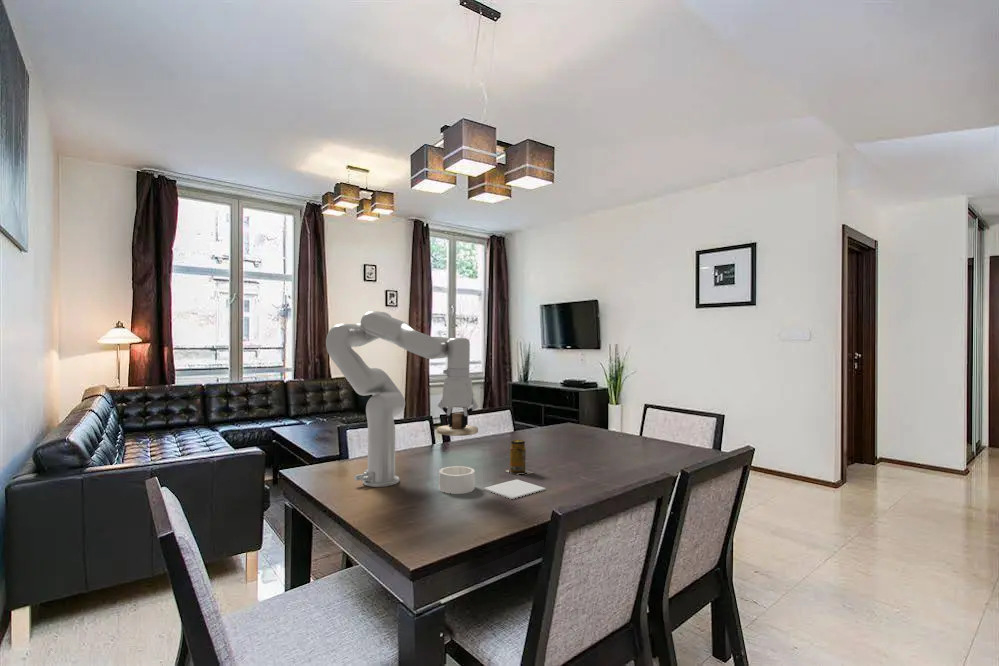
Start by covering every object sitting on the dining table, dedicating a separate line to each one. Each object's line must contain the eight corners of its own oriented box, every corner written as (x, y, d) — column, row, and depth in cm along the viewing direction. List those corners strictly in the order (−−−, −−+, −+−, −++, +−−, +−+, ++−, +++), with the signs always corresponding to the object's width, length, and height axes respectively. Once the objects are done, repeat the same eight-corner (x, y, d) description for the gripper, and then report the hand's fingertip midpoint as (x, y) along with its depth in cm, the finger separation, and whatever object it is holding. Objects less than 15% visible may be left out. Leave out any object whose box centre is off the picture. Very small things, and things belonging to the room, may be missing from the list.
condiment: (518, 468, 199) (518, 438, 199) (533, 473, 193) (533, 441, 193) (504, 471, 195) (504, 440, 195) (518, 476, 188) (519, 444, 188)
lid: (453, 437, 162) (453, 418, 162) (428, 431, 172) (429, 413, 172) (486, 432, 172) (486, 414, 172) (461, 426, 182) (461, 409, 182)
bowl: (453, 496, 163) (453, 477, 163) (432, 487, 172) (432, 470, 172) (481, 488, 171) (481, 471, 172) (459, 481, 180) (459, 464, 180)
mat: (511, 499, 160) (511, 497, 160) (483, 489, 171) (483, 487, 171) (545, 489, 171) (545, 488, 171) (516, 480, 182) (516, 479, 182)
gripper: (431, 373, 169) (431, 428, 169) (480, 375, 167) (479, 430, 167) (437, 372, 177) (436, 424, 177) (484, 373, 175) (483, 426, 175)
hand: (457, 426), depth 172 cm, fingers closed on lid, 4 cm apart
